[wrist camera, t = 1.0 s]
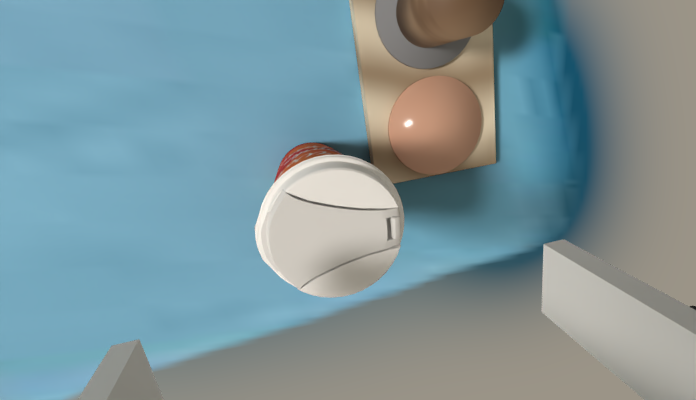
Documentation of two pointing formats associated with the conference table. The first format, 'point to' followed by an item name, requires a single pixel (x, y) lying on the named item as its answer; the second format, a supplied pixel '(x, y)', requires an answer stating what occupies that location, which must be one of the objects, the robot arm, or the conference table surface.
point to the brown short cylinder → (444, 19)
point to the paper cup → (329, 222)
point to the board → (394, 77)
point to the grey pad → (407, 50)
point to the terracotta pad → (434, 124)
